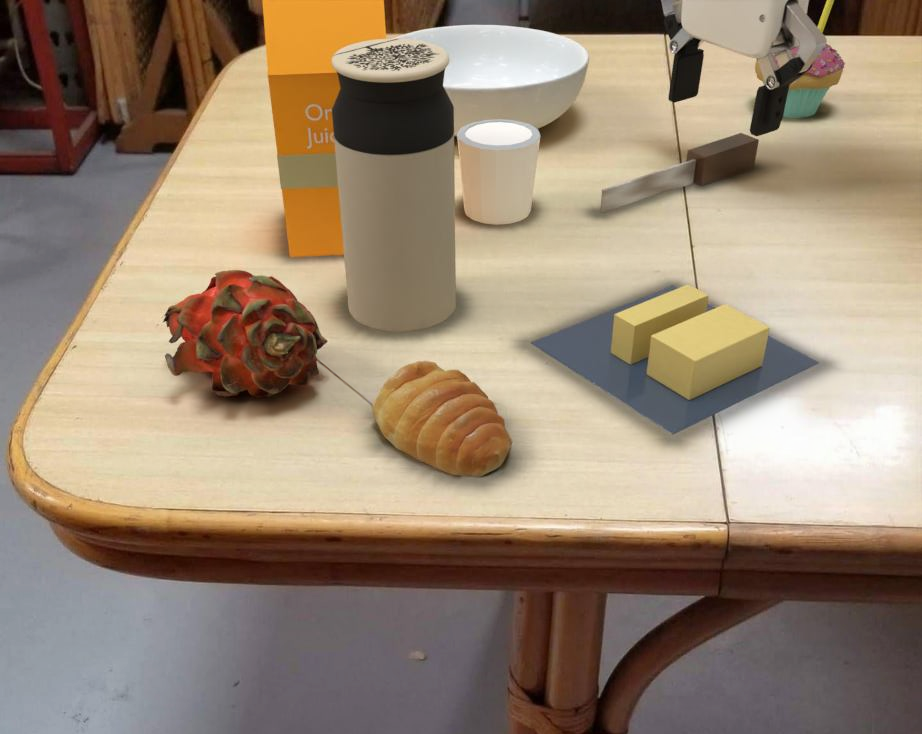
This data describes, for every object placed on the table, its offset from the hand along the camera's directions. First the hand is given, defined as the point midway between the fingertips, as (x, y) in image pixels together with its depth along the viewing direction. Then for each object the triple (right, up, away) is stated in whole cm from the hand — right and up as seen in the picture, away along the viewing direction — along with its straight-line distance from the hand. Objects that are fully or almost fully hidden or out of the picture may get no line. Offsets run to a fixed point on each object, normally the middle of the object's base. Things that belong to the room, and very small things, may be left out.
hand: (722, 115), depth 94 cm
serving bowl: (-21, +5, +14) cm, 26 cm away
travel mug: (-27, -21, -15) cm, 37 cm away
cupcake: (+11, +6, +16) cm, 20 cm away
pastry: (-24, -31, -27) cm, 48 cm away
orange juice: (-33, -13, -5) cm, 36 cm away
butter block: (-7, -26, -22) cm, 35 cm away
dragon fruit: (-37, -27, -22) cm, 51 cm away
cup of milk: (-20, -10, -2) cm, 22 cm away
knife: (-4, -7, +1) cm, 8 cm away
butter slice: (-9, -24, -20) cm, 32 cm away
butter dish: (-8, -25, -20) cm, 33 cm away
